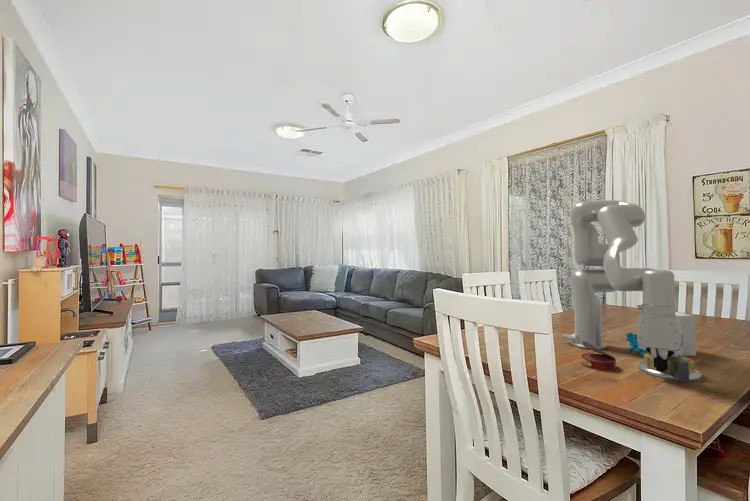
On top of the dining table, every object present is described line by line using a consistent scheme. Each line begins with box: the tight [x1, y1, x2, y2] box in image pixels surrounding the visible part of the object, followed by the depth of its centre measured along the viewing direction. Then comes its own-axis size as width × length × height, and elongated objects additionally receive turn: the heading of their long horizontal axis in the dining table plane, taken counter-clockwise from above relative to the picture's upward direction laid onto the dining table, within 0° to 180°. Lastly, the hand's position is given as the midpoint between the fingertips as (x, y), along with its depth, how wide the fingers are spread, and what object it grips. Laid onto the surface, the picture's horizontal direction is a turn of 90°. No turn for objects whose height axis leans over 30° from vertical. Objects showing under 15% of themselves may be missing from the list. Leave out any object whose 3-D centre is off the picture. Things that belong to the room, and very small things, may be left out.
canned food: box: [581, 341, 617, 372], centre depth 116 cm, size 11×10×10 cm
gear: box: [625, 332, 647, 356], centre depth 129 cm, size 11×6×10 cm
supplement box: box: [675, 311, 697, 357], centre depth 128 cm, size 9×9×15 cm
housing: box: [638, 349, 702, 382], centre depth 108 cm, size 15×15×10 cm
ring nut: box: [642, 351, 696, 380], centre depth 105 cm, size 17×12×5 cm
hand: (660, 370), depth 102 cm, fingers closed
